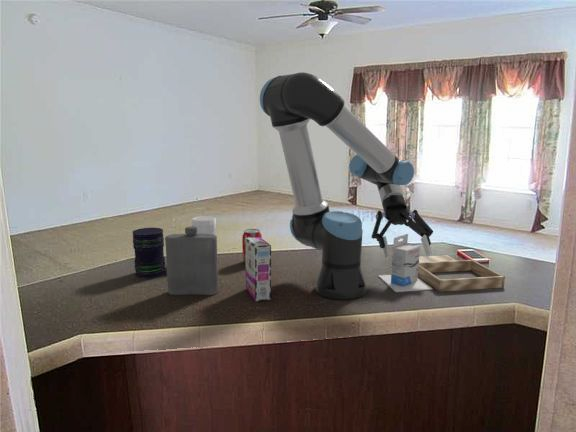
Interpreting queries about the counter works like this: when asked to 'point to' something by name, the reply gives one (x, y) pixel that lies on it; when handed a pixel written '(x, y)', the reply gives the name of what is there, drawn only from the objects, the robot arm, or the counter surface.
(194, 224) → the cup
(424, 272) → the mailer box
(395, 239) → the ink box
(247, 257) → the candy bar box
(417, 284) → the mat
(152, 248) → the storage jar
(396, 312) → the counter surface
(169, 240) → the flask
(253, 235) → the soda can
